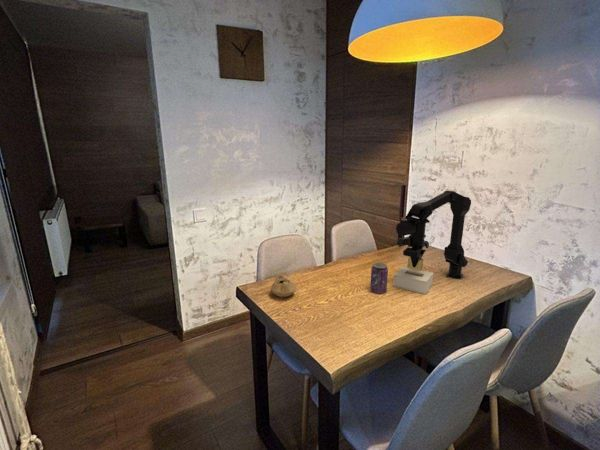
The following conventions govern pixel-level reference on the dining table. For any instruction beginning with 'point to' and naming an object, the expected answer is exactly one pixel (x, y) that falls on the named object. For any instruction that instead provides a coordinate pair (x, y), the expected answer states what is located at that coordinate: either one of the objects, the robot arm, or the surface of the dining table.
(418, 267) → the two-tone wooden block
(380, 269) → the beverage can
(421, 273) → the moneybox
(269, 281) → the dining table surface
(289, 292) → the oil lamp
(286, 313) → the dining table surface
